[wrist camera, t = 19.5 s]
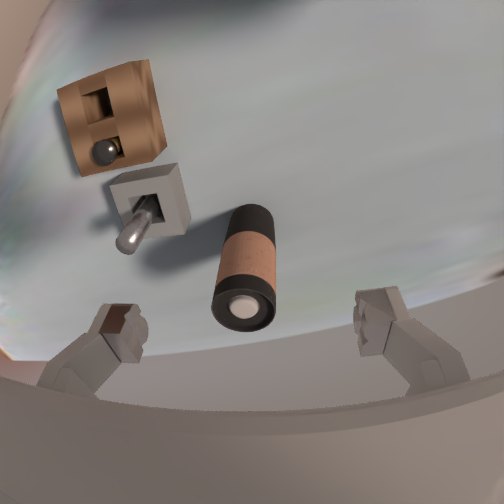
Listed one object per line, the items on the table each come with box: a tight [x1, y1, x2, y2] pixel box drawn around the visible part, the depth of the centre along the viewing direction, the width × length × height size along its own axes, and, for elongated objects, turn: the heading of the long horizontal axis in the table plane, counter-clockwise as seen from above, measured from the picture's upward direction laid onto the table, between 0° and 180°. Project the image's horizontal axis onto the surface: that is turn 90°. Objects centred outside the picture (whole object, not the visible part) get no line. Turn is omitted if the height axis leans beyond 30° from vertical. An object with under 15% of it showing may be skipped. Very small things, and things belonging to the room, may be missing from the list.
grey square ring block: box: [109, 163, 191, 239], centre depth 48 cm, size 10×10×5 cm
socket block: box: [57, 60, 167, 177], centre depth 39 cm, size 14×12×7 cm
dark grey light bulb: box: [92, 136, 123, 166], centre depth 40 cm, size 4×4×8 cm
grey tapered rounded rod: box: [116, 193, 161, 255], centre depth 44 cm, size 3×3×14 cm
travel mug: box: [211, 204, 276, 332], centre depth 44 cm, size 8×8×20 cm
